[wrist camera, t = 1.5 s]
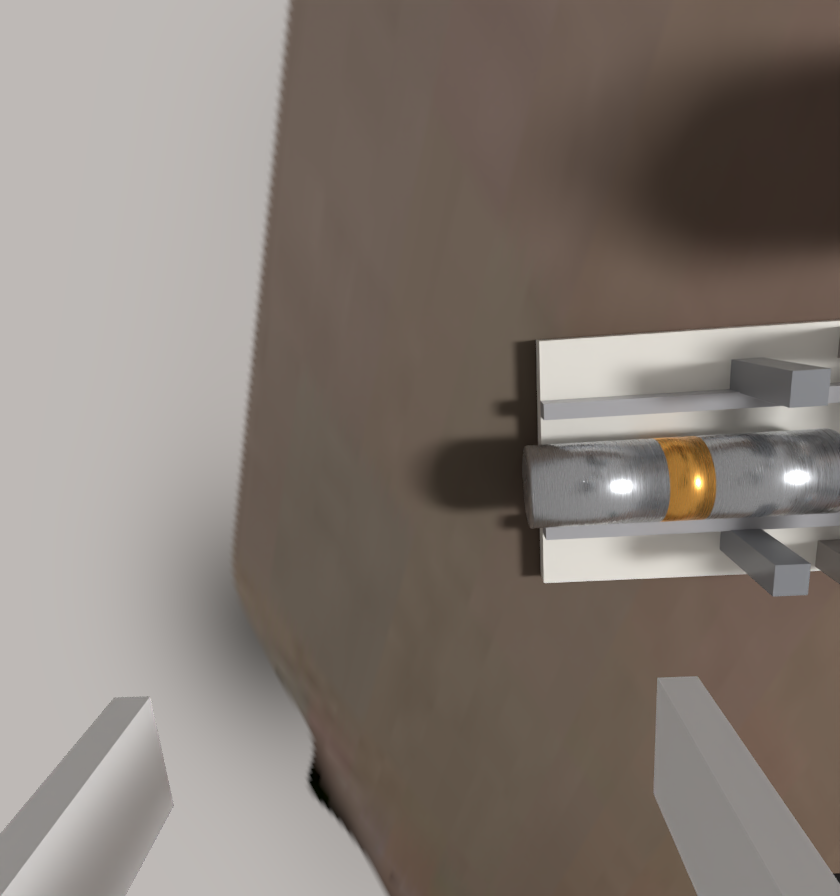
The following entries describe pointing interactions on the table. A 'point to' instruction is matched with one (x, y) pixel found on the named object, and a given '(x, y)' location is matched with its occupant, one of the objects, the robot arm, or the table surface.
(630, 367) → the collar board
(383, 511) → the table surface
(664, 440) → the tube
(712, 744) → the robot arm
